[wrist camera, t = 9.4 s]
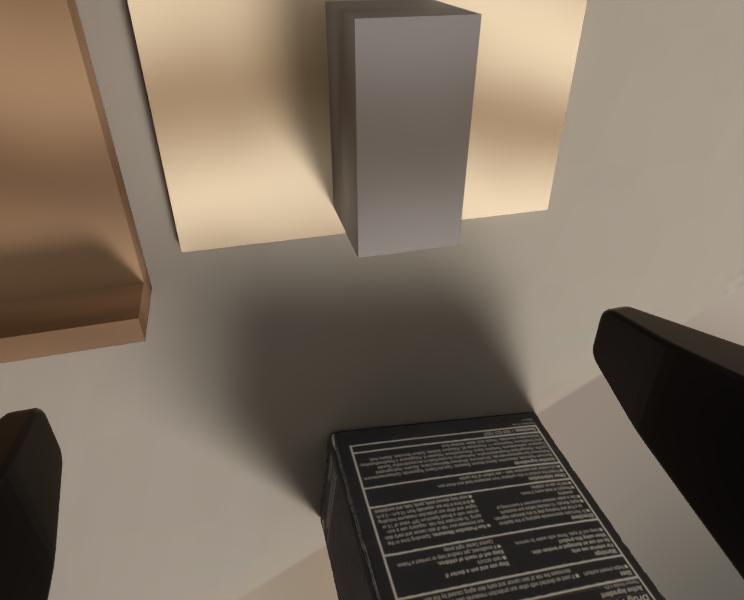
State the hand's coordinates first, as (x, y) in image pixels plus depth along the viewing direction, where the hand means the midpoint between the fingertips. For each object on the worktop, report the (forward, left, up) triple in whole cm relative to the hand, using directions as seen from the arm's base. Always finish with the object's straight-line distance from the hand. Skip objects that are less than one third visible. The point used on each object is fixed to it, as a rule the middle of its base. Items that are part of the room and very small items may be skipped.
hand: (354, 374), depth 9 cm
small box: (-16, -6, -11) cm, 20 cm away
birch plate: (+1, -3, -11) cm, 12 cm away
